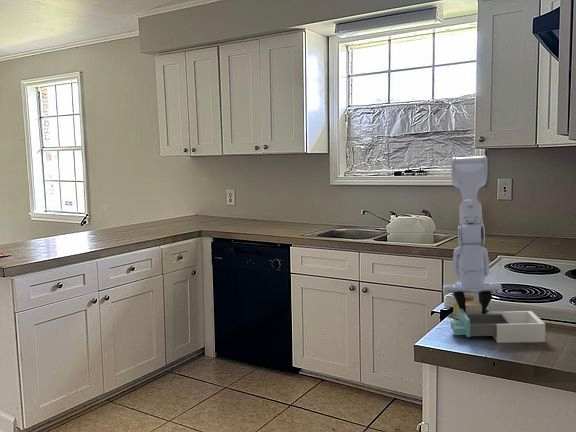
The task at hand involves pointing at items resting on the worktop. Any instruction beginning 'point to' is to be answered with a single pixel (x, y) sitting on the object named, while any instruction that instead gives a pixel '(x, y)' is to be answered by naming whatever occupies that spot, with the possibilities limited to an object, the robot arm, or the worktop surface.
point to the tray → (477, 324)
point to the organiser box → (520, 327)
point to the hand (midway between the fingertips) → (472, 319)
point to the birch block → (473, 307)
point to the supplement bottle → (455, 305)
